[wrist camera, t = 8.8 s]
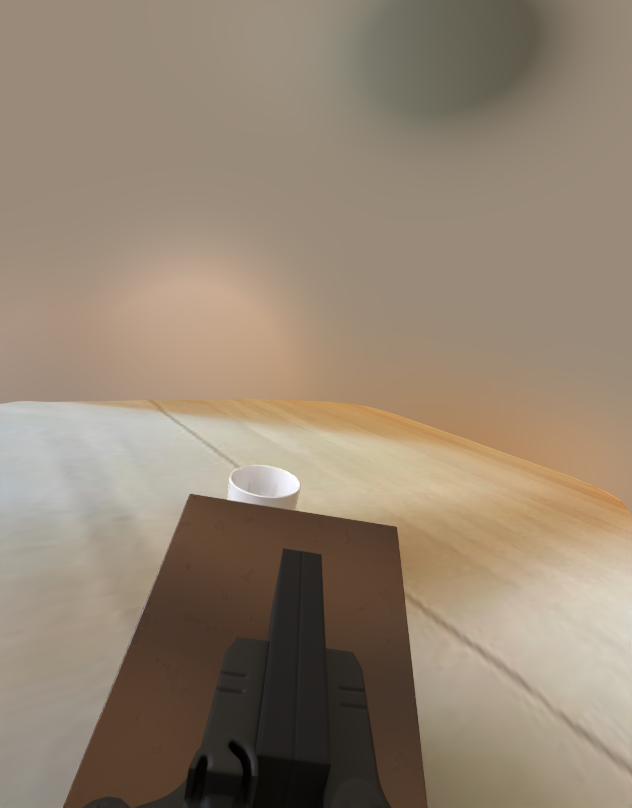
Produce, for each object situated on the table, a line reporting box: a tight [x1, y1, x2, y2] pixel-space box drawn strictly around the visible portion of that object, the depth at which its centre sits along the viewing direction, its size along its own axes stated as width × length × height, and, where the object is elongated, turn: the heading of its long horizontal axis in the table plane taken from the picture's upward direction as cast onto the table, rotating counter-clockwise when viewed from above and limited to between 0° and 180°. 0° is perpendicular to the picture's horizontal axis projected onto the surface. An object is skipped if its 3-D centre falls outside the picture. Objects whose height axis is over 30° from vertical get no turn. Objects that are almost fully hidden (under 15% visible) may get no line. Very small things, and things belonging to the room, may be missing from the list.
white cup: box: [227, 465, 301, 511], centre depth 39 cm, size 8×8×10 cm
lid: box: [63, 494, 428, 808], centre depth 15 cm, size 14×12×1 cm
